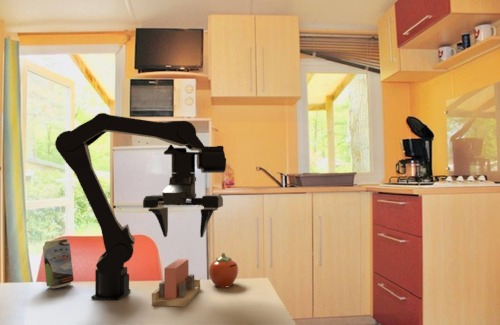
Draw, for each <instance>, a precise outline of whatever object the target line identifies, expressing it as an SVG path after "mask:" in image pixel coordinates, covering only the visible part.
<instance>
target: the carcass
mask: <svg viewBox="0 0 500 325" xmlns="http://www.w3.org/2000/svg"><path fill="white" fill-rule="evenodd" d="M158 286H159V287H158V288H157V289H155V290H154V291H153V292H151V305H152V306H160V307H161V306H168V307H185V306H186V305H187V304H188V303H189V302H190V301H191V300H192V299H193V298H194V297H195V295H197V293H198V292H199V291H201V278H195V274H193V273H192V274H189V276H188V288H187V289H186V282H181V283H180V284H179V296H178V297H177V298H176V299H165V295H164V280H162V281H161V282H159V284H158Z"/></svg>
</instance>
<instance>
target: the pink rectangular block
mask: <svg viewBox="0 0 500 325" xmlns="http://www.w3.org/2000/svg"><path fill="white" fill-rule="evenodd" d="M189 268H190V267H189V259H188V258H177V259H175V261H173V262H171V263H170V264H168V265H167V266H166V267H164V270H163V271H164V280H163V281H164V295H165V299H176V298H177V297H178V296H179V284H180V283H181V282H186V289H187V288H188V276H189V275H190V274H189Z"/></svg>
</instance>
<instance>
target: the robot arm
mask: <svg viewBox="0 0 500 325" xmlns="http://www.w3.org/2000/svg"><path fill="white" fill-rule="evenodd" d="M106 133H115V134H124V135H130V136H131V135H132V136H136V137H137V136H138V137H145V138H153V139H157V140H160V141H163V142H166V143H167V144H168V143H169V146H168V147H167V149H165V150H164V152H163V155H166V156H167V155H168V156H169V155H170V156H171V177H169V180H168V181H169V182H168V185H167V186H166V187H164V189H163V190H162V192H161V193H162V194H159V195H157V194H155V195H154V194H153V195H145V196H144V198H143V199H142V208H143V209H144V208H145V209H147V210H148V212H151V213H153V215H154V216H155V217H156V219H157V221H158V223H159V227H160V229H161V231H162V235H163V237H164V238H166V237H168V234H169V233H168V232H169V229H168V227H169V216H168V215H169V211H168V210H169V207H166V206H202V207H203V208H201V209H200V216H201V217H200V218H201V219H200V230H199V231H200V232H199V235H200V238H203V237H204V235H205V233H206V229H207V227H208V224H209V223H210V222H209V221H210V219H211V217H212V215H213V213H214V212H215V211H218V210H219V208H222V207H223V206H224V198H223V197H222V195H221V194H206V195H202V197H197V193H196V182H197V176H196V169H198V170H200V171H201V173H202V174H206V173H207V174H211V173H213V174H215V173H216V174H217V173H219V174H222V173H223V174H224V173H225V172H226V167H227V158H226V154H225V151H224V150H225V148H224V146H223V145H216V146H206V145H204V143H203V142H202V141H201V139H200V138H199V137H198V134H197V130H196V127H195V126H194V125H193V123H192V122H191V121H187V120H171V121H170V120H169V121H153V120H146V119H140V118H139V119H138V118H133V117H127V116H126V117H125V116H120V115H114V114H113V115H111V114H108V113H105V112H100V113H98V114H96V115H95V116H94V117H93V118H90V120H88V121H86V122H83V123H82V124H80V125H78V126H77V127H75V128H74V129H73V130H65V131H63V132H61V133H60V134H58V136H57V137H56V139H55V143H54V144H55V145H54V146H55V149H56V151H57V152H58V153H59V154H60V156H61V157H62V160H64V161H65V163H66V164H67V165H68V167H69V168H70V169H71V170H72V172H74V175H75V176H76V179H77V180H78V183H79V185H80V187H81V188H82V191H83V193H84V195H85V198H86V199H87V201H88V204H89V206H90V208H91V210H92V212H93V215H94V217H95V219H96V221H97V223H98V225H99V228H100V230H101V235H102V240H103V242H102V243H103V246H104V249H105V251H104V252H103V253H102V254H101V256H99V259H98V260H97V263H96V265H95V266H96V267H95V268H96V269H95V274H94V275H95V280H94V281H95V286H94V288H95V293H94V294H93V295H92V296H90V297H91V298H90V299H92V300H111V301H115V300H116V301H117V300H120V299H122V298H123V297H124V296H126V295H127V294H129V293H130V292H131V289H130V274H129V273H128V267H127V266H124V265H125V264H126V263H127V262H129V261H130V260H131V258H132V257H133V254H134V247H135V246H134V244H135V240H136V239H135V237H134V236H133V234H132V233H131V231H130V228H129V224H125V225H124V226H122V224H121V223H120V222H119V220H118V219H117V217H116V214H115V212H114V211H113V209H112V206H111V204H110V201H109V200H108V198H107V194H106V193H105V191H104V189H103V187H102V185H101V183H100V180H99V179H98V176H97V174H96V172H95V170H94V167H93V162H92V156H91V153H90V149H89V146H91V145H92V144H93V143H95V141H97V140H98V139H99V138H101V137H102V136H104V134H106ZM173 145H174V146H178V147H174V146H173ZM187 149H189V150H190V151H187ZM197 151H198V152H197Z"/></svg>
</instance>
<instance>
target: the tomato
mask: <svg viewBox="0 0 500 325" xmlns="http://www.w3.org/2000/svg"><path fill="white" fill-rule="evenodd" d="M238 274H239V266H238V264H237V263H236V261H234V260H232V258H231V257H229V256H226V253H224V252H222V253H221V256H219V257H216V258H215V260H213V261H212V262H211V263H210V265H209V267H208V275H209V278H210V280H211V281H212V283H213V284H214V286H216V287H218V286H219V288H227V287H226V286H229V287H231V286H232V285H233V284H234V283H235V281H236V279H237V277H238ZM230 285H231V286H230Z"/></svg>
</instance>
